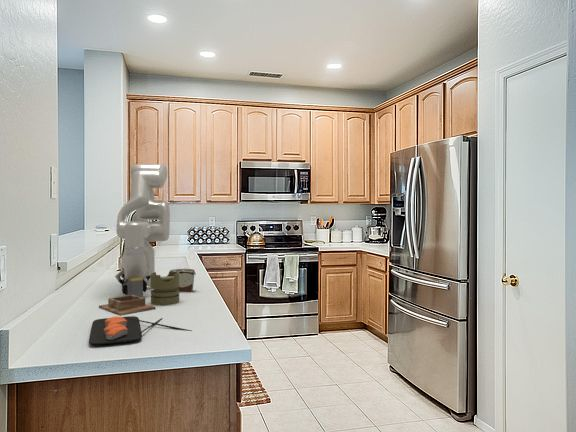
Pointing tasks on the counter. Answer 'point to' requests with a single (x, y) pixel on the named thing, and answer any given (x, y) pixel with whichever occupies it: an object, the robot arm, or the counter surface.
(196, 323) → the counter surface
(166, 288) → the piston
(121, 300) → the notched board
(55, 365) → the counter surface
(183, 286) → the food container
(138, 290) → the gold and gray block
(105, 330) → the sushi plate
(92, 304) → the counter surface
